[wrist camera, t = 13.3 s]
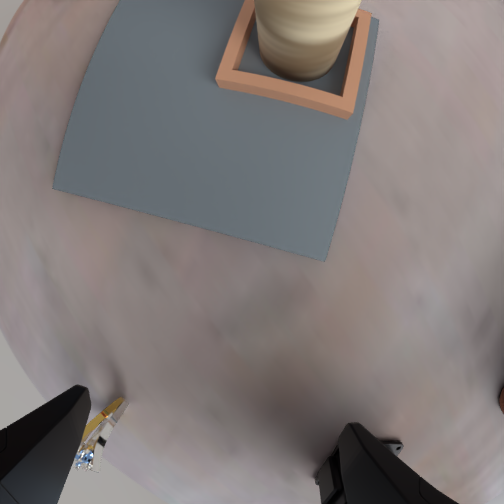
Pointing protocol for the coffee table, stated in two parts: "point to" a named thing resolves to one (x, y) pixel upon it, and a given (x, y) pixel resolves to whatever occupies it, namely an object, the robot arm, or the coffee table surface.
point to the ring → (98, 436)
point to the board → (216, 125)
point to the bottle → (302, 35)
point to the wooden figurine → (502, 401)
